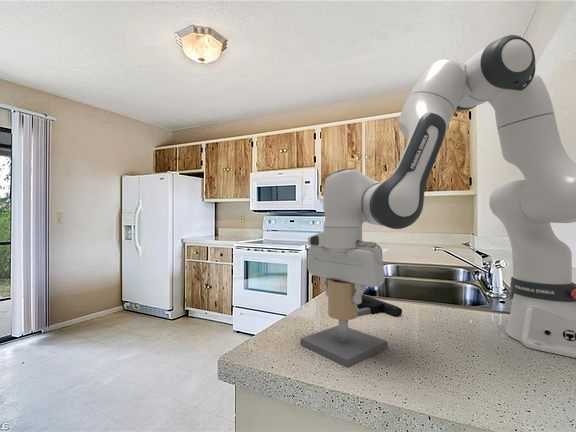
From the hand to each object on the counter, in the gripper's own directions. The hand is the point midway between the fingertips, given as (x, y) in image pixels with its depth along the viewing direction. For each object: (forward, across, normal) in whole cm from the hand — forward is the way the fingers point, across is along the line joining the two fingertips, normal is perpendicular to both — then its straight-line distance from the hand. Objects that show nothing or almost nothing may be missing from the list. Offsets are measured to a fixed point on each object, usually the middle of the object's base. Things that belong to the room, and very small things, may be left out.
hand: (342, 299), depth 71 cm
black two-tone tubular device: (+12, +14, -26) cm, 31 cm away
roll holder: (+11, 0, 0) cm, 11 cm away
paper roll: (+4, 0, 0) cm, 4 cm away
